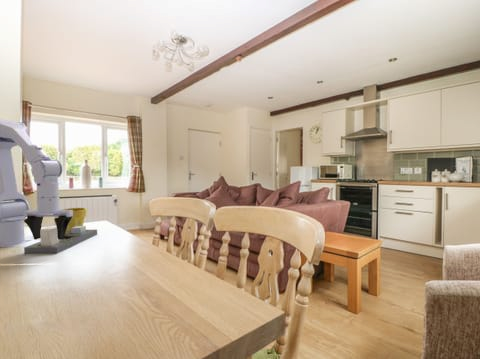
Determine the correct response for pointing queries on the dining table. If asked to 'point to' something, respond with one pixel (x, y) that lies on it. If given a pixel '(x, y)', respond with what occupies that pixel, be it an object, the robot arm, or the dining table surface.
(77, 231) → the white cube
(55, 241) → the plug
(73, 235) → the grey slotted board
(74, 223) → the plant pot
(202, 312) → the dining table surface
